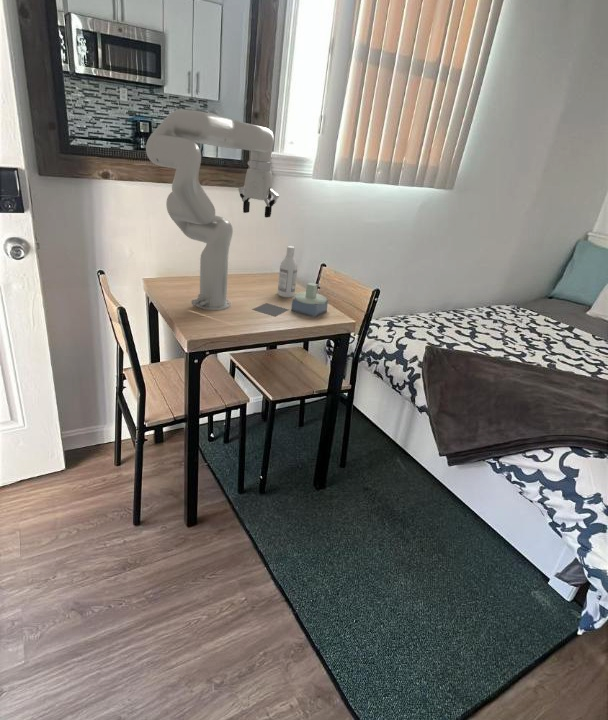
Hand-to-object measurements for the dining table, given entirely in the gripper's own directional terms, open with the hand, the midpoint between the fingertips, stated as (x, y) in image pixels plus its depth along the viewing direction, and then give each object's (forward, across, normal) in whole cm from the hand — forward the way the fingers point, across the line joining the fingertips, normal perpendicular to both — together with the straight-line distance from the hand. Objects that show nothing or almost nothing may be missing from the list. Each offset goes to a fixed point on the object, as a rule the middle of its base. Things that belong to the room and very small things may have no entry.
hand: (256, 214), depth 172 cm
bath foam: (+31, +13, +6) cm, 34 cm away
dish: (+30, +29, -4) cm, 42 cm away
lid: (+25, +29, -4) cm, 39 cm away
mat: (+30, +18, -14) cm, 38 cm away
